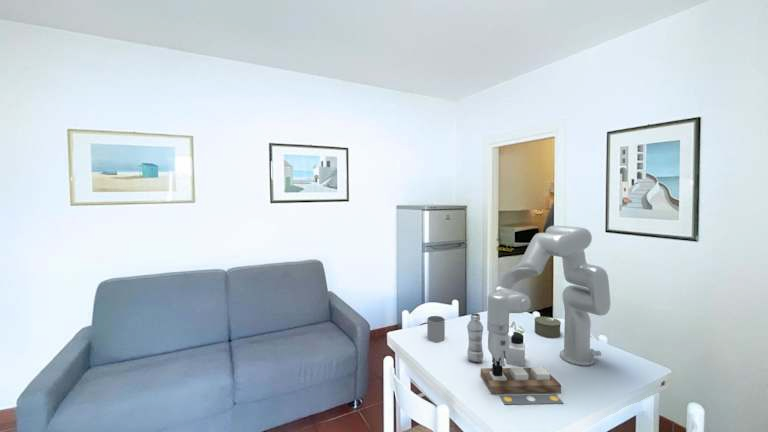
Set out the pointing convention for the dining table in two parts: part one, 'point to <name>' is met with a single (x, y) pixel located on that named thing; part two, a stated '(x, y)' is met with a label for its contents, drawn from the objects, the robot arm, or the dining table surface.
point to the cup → (436, 329)
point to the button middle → (518, 374)
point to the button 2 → (540, 373)
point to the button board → (519, 384)
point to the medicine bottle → (516, 349)
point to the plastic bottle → (475, 338)
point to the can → (547, 327)
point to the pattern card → (530, 399)
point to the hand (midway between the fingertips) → (497, 374)
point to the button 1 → (497, 377)
